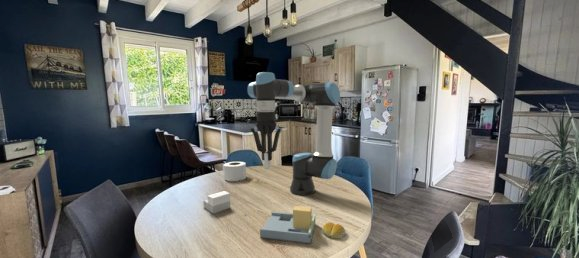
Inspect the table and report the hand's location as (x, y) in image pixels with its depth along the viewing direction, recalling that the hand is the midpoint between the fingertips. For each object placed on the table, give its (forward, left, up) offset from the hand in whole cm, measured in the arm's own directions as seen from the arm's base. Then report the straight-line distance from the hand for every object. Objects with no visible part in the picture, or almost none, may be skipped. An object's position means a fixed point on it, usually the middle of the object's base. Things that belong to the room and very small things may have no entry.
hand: (267, 167), depth 101 cm
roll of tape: (-76, +18, -27) cm, 83 cm away
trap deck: (+7, +6, -26) cm, 28 cm away
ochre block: (+11, +10, -24) cm, 28 cm away
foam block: (-36, -14, -27) cm, 47 cm away
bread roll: (+20, +19, -27) cm, 39 cm away
